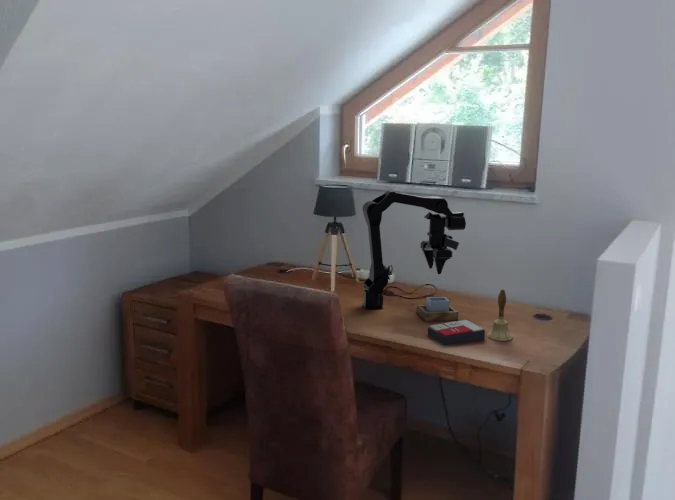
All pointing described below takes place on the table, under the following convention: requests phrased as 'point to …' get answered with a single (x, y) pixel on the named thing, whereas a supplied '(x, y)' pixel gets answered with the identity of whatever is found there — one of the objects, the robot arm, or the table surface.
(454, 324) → the grey and red box
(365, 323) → the table surface
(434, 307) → the small crate
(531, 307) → the table surface
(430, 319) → the walnut crate
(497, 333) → the hand bell
